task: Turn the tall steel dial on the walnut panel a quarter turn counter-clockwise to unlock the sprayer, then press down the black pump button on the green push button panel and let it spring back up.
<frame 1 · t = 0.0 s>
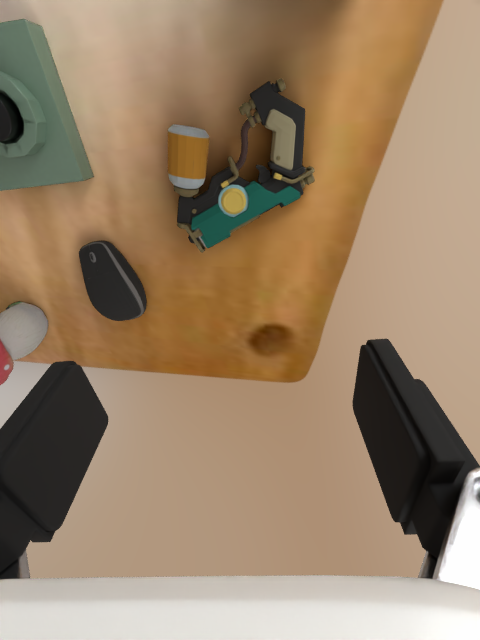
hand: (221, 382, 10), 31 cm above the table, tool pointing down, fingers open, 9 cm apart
computer mouse: (116, 280, 43), on the table
decorative ornament: (29, 317, 47), on the table
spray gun: (238, 173, 35), on the table
green push button panel: (26, 116, 32), on the table
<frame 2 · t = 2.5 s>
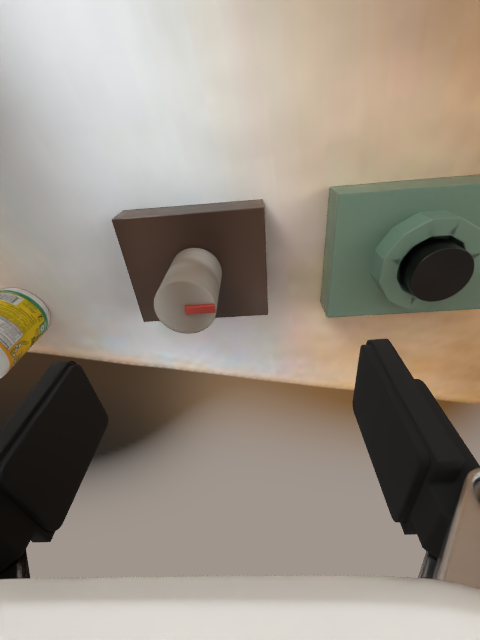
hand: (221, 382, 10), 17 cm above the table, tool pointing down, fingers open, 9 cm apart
pump button: (435, 270, 21), point 5 cm above the table, slide at 0.1 cm
dial: (191, 289, 21), point 5 cm above the table, hinge at 0.0°
dial panel: (200, 259, 26), on the table
supplement bottle: (24, 309, 29), on the table
green push button panel: (403, 245, 25), on the table
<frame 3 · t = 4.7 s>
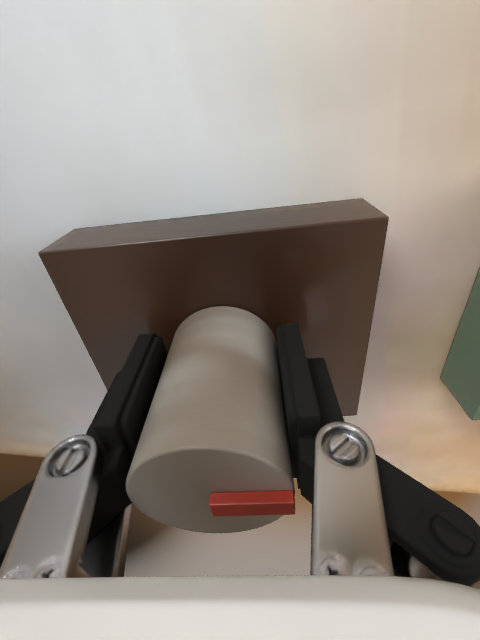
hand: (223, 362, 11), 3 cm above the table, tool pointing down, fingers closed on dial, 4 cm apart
dial: (218, 409, 9), point 5 cm above the table, hinge at 0.1°, touching gripper
dial panel: (228, 313, 14), on the table
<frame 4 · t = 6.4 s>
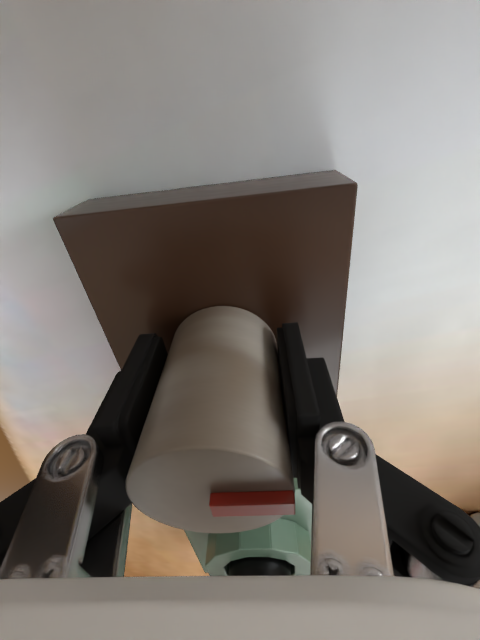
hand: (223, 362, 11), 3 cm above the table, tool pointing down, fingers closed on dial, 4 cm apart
pump button: (259, 580, 19), point 5 cm above the table, slide at 0.1 cm
dial: (219, 409, 9), point 5 cm above the table, hinge at 89.7°, touching gripper
dial panel: (228, 313, 14), on the table
green push button panel: (257, 497, 23), on the table
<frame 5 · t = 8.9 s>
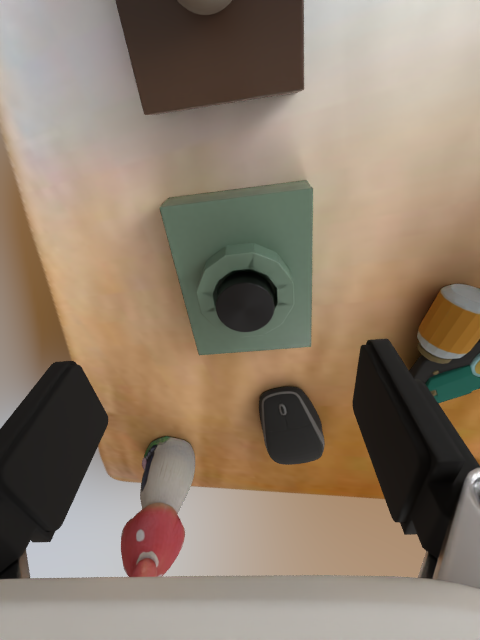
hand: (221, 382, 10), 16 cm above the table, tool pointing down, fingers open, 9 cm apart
computer mouse: (289, 418, 36), on the table
decorative ornament: (171, 448, 41), on the table
pump button: (245, 302, 21), point 5 cm above the table, slide at 0.1 cm
green push button panel: (246, 271, 25), on the table
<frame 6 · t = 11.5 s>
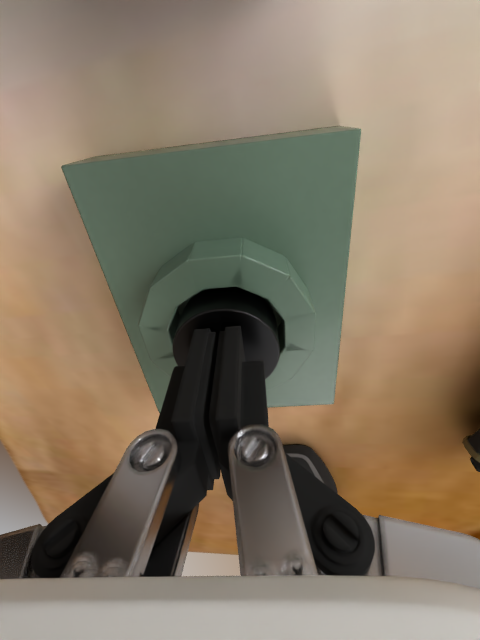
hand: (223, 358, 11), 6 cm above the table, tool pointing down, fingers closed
computer mouse: (293, 480, 27), on the table
pump button: (227, 340, 12), point 5 cm above the table, slide at -0.3 cm, touching gripper
green push button panel: (232, 285, 16), on the table
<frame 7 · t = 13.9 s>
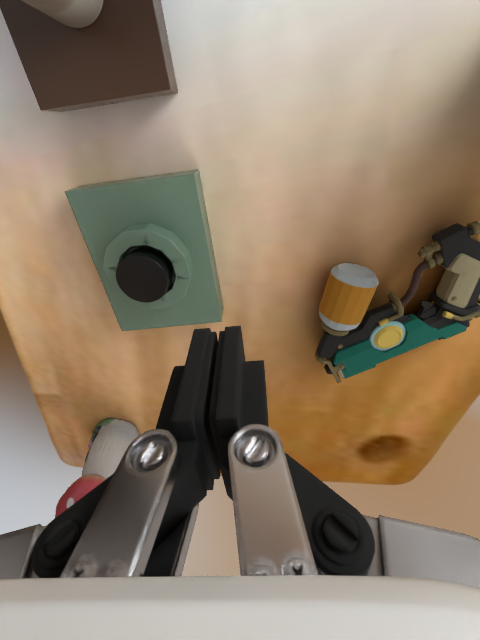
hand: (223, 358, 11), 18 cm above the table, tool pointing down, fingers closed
decorative ornament: (118, 431, 43), on the table
pump button: (145, 275, 24), point 5 cm above the table, slide at 0.1 cm
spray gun: (389, 302, 31), on the table
green push button panel: (160, 253, 28), on the table
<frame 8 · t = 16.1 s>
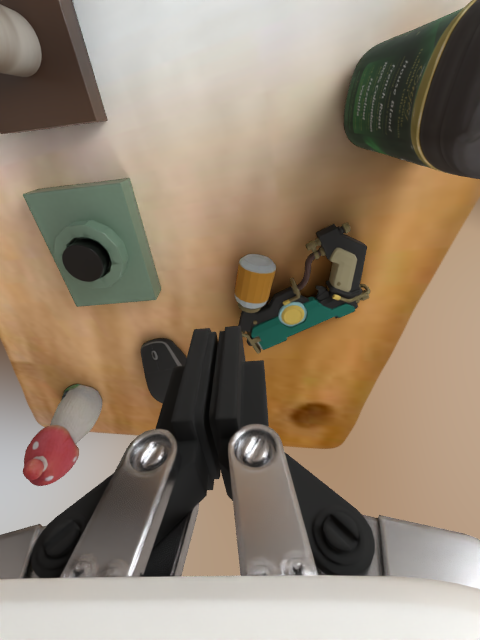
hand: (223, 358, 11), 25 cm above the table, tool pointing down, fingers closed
computer mouse: (171, 367, 46), on the table
decorative ornament: (84, 396, 50), on the table
coffee jar: (396, 102, 27), on the table
pump button: (86, 260, 31), point 5 cm above the table, slide at 0.1 cm
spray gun: (296, 287, 38), on the table
dial panel: (34, 50, 26), on the table
green push button panel: (105, 243, 35), on the table
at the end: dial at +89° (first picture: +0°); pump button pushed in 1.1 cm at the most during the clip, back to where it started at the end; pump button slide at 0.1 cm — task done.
